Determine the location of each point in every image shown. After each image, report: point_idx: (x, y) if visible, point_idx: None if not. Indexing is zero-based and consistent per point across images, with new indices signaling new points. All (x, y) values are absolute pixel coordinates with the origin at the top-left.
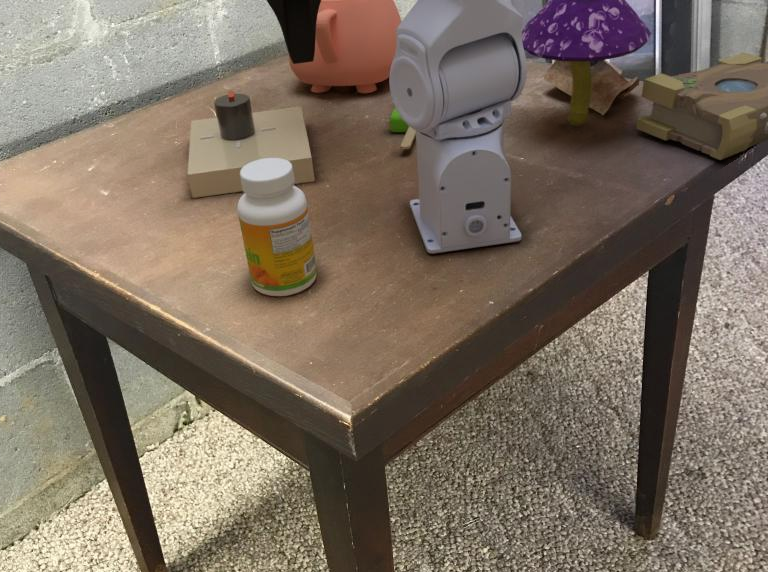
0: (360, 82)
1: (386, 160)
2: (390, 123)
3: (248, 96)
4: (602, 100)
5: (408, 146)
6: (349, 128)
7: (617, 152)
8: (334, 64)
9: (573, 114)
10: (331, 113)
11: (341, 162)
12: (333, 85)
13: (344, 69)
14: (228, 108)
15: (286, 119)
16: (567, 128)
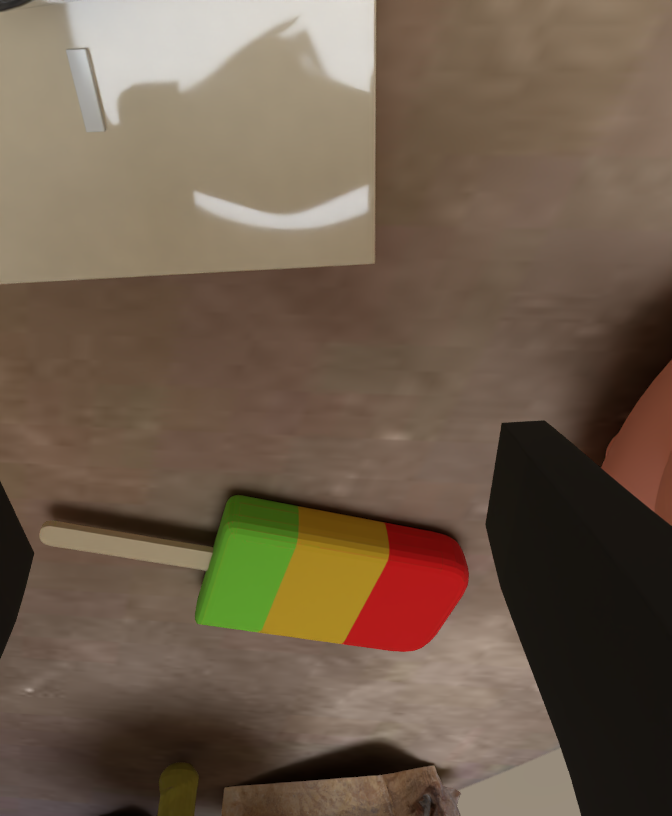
0: (603, 464)
1: (23, 469)
2: (226, 513)
3: (7, 4)
4: (253, 809)
5: (43, 541)
6: (311, 384)
7: (55, 783)
8: (667, 443)
9: (168, 787)
10: (482, 332)
11: (7, 349)
12: (660, 373)
13: (632, 461)
14: None
15: (216, 190)
16: (181, 749)
